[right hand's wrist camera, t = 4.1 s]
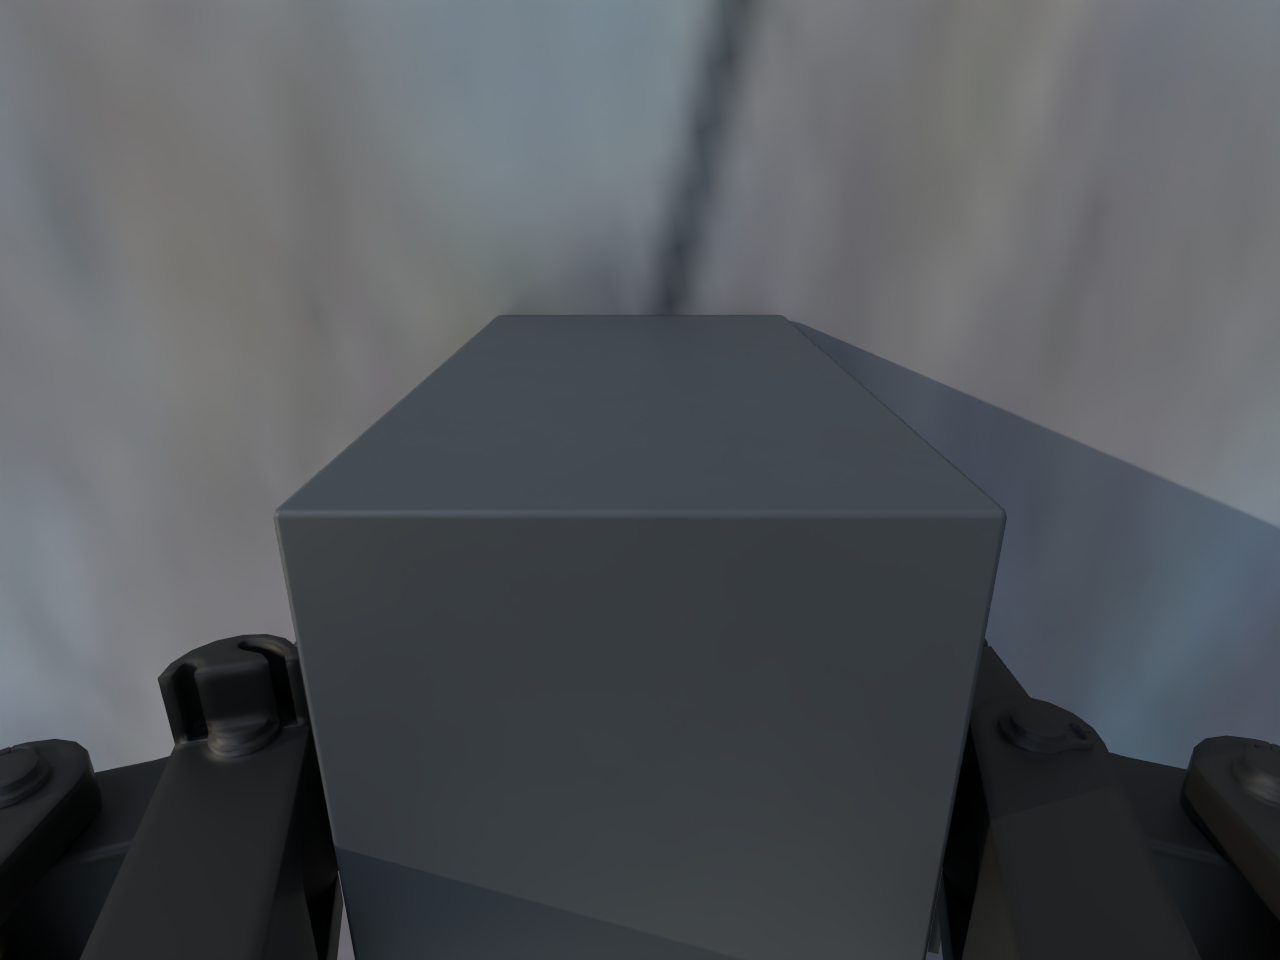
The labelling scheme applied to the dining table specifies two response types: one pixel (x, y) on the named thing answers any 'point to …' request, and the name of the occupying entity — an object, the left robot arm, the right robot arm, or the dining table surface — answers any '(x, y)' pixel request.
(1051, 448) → the dining table surface
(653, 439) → the bar
